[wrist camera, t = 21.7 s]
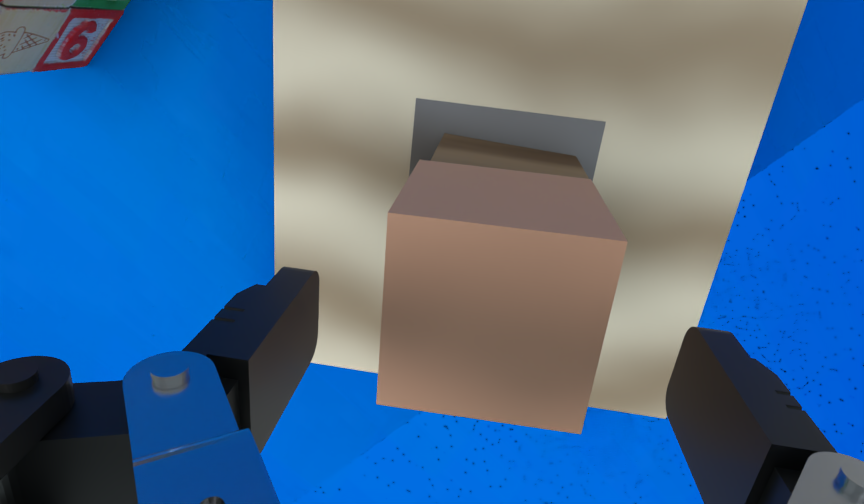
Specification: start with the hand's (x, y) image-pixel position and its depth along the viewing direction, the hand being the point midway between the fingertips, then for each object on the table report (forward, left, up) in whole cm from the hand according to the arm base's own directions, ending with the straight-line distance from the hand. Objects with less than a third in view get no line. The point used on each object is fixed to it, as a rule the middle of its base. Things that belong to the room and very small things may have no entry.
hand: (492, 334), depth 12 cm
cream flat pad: (0, 0, -12) cm, 12 cm away
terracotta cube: (0, 0, -5) cm, 5 cm away
